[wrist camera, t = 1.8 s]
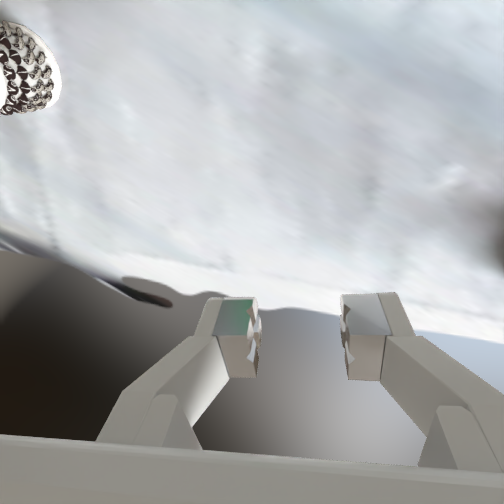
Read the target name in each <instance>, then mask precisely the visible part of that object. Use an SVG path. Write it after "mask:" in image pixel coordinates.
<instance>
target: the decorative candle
mask: <svg viewBox="0 0 504 504" xmlns="http://www.w3.org/2000/svg"><path fill="white" fill-rule="evenodd" d="M61 88H62V81H61V74H60V69H59V66H58V64H57V62H56V60H55V57H54V55H53V53H52V51H51V50H50V49H49V48H48V46H47V45H46V44H45V43H44V41H43V40H42V39H41V38H40V37H39V36H38V35H37V34H35V33H34V32H32V31H31V30H30V29H28V28H27V27H26V26H22V25H18V24H15V23H11V22H7V21H2V24H0V116H1V114H3V115H12V114H13V112H16V113H19V114H23V113H26V112H27V111H30V112H33V111H36V110H37V109H43V108H48V107H51V106H52V105H53V104H54V103H55V102H56V101H57V100H58V99H59V96H60V92H61Z"/></svg>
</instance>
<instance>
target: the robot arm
mask: <svg viewBox="0 0 504 504" xmlns="http://www.w3.org/2000/svg"><path fill="white" fill-rule="evenodd" d="M340 305H341V311H342V314H341V315H340V326H341V338H342V345H343V347H344V348H345V363H346V369H347V375H348V380H365V381H380V383H381V384H382V385H383V387H384V388H385V389H386V390H387V391H388V392H389V394H390V395H391V396H392V397H393V398H394V399H395V401H396V402H397V403H398V404H399V405H400V406H401V408H402V409H403V410H404V411H405V412H406V413H407V415H408V416H409V417H410V418H411V419H412V420H413V422H414V423H415V424H416V425H417V426H418V427H419V429H420V430H421V431H422V432H423V433H424V434H425V436H426V437H427V439H426V442H425V444H424V447H423V450H422V453H421V456H420V459H419V462H418V467H415V466H403V465H389V464H377V463H364V462H351V461H338V460H324V459H312V458H299V457H286V456H273V455H260V454H247V453H234V452H221V451H208V450H202V448H201V446H200V444H199V442H198V439H197V437H196V435H195V433H194V431H193V429H192V426H193V425H194V424H195V422H196V421H197V420H198V418H199V417H200V416H201V415H202V413H203V412H204V411H205V409H206V408H207V407H208V406H209V404H210V403H211V402H212V401H213V399H214V398H215V397H216V395H217V394H218V393H219V391H220V390H221V389H222V388H223V387H224V385H225V384H226V383H227V381H228V380H229V377H257V370H258V362H259V356H258V351H257V349H258V348H259V347H260V346H261V338H262V330H261V329H262V328H261V319H260V316H258V315H257V310H258V304H257V299H256V298H255V297H225V298H209V299H208V300H207V302H206V305H205V307H204V310H203V313H202V315H201V318H200V320H199V323H198V326H197V328H196V331H195V333H194V336H189V337H188V338H187V339H185V340H184V341H183V342H181V343H180V344H179V345H178V346H177V347H175V348H174V349H173V350H172V351H171V352H169V353H168V354H167V355H166V356H165V357H164V358H162V359H161V360H160V361H159V362H157V363H156V364H155V365H154V366H152V367H151V368H150V369H149V370H148V371H146V372H145V373H144V374H143V375H142V376H140V377H139V378H138V379H137V380H135V381H134V382H133V383H132V384H131V385H129V386H128V387H127V388H126V389H125V390H123V391H122V393H121V395H120V397H119V399H118V400H117V402H116V404H115V406H114V408H113V410H112V412H111V414H110V415H109V417H108V419H107V421H106V423H105V425H104V427H103V428H102V430H101V432H100V434H99V436H98V438H97V440H96V441H95V442H90V441H78V440H64V439H51V438H38V437H26V436H11V435H0V504H504V395H503V394H502V393H501V392H499V391H498V390H496V389H495V388H494V387H492V386H491V385H490V384H488V383H487V382H485V381H484V380H482V379H481V378H480V377H478V376H477V375H475V374H474V373H473V372H471V371H470V370H469V369H467V368H466V367H464V366H463V365H462V364H460V363H459V362H457V361H456V360H455V359H453V358H452V357H450V356H449V355H448V354H446V353H445V352H443V351H442V350H441V349H439V348H438V347H436V346H435V345H434V344H433V343H431V342H430V341H428V340H427V339H426V338H424V337H423V336H416V335H415V333H414V330H413V328H412V326H411V324H410V322H409V319H408V317H407V315H406V313H405V310H404V308H403V306H402V304H401V301H400V299H399V297H398V295H397V294H396V293H395V292H389V293H376V294H375V293H373V294H345V295H341V299H340Z"/></svg>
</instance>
